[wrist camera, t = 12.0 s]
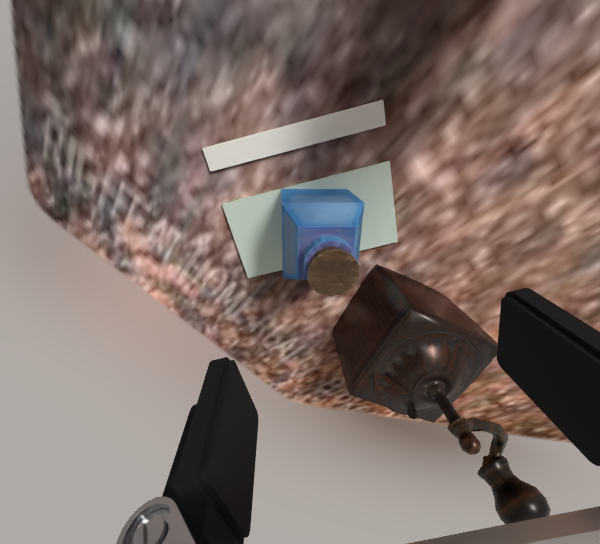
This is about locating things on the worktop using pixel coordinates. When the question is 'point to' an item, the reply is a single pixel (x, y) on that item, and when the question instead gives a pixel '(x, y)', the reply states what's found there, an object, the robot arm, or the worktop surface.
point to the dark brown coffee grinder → (427, 371)
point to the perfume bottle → (322, 238)
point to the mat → (268, 206)
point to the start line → (295, 135)
